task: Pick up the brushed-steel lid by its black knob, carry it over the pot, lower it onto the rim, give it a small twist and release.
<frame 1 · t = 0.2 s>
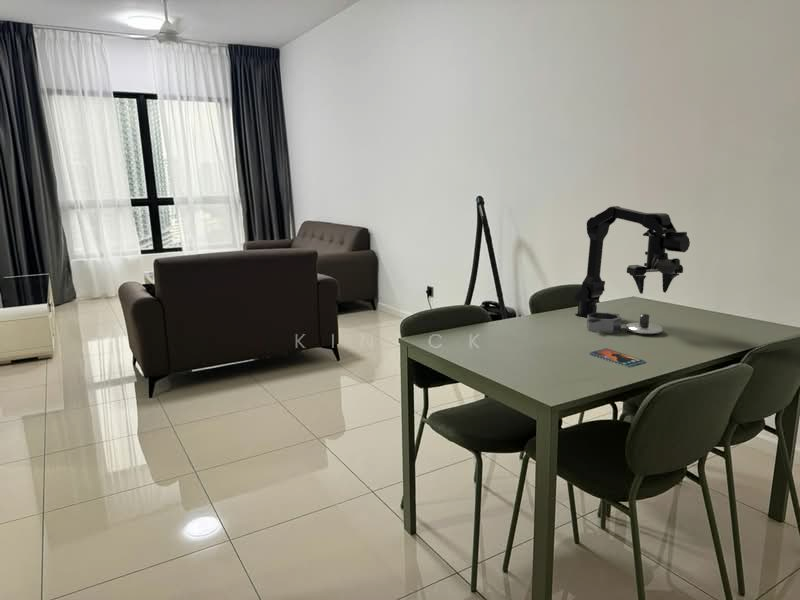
hand: (652, 293, 201), 14 cm above the table, fingers open, 9 cm apart
lid: (643, 332, 202), on the table
smartphone: (616, 360, 173), on the table
pot: (603, 329, 206), on the table
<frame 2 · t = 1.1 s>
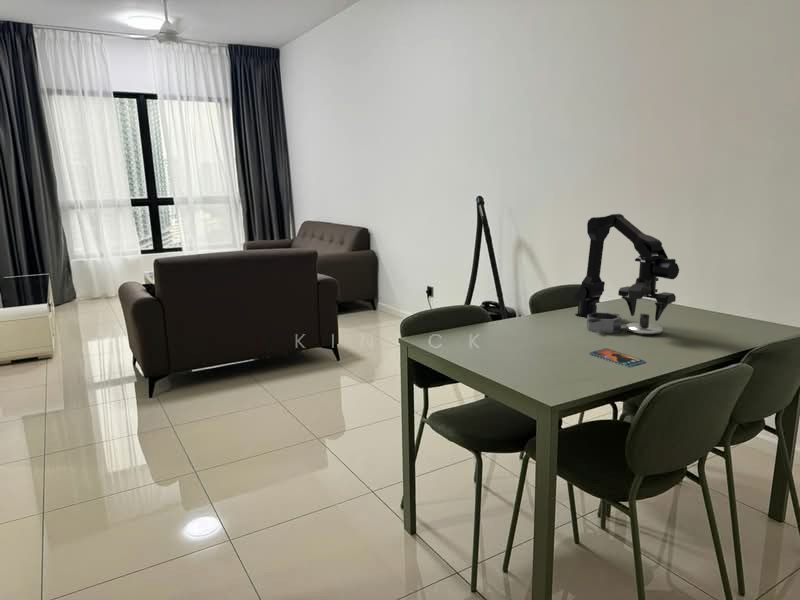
hand: (644, 318, 201), 5 cm above the table, fingers open, 9 cm apart
nothing on the table moved.
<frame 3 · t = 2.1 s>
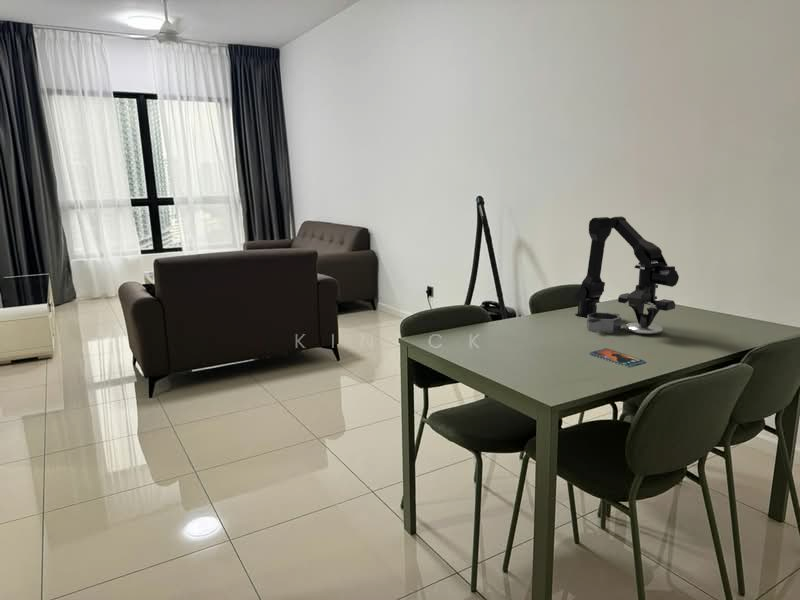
hand: (644, 325, 201), 3 cm above the table, fingers closed on lid, 3 cm apart
lid: (643, 331, 202), on the table, touching gripper
everything else where it was.
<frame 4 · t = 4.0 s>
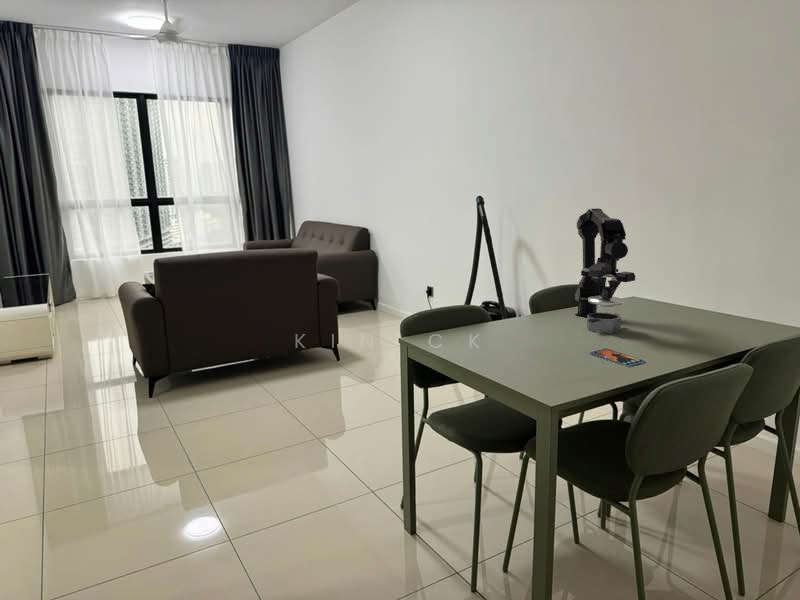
hand: (605, 297, 203), 12 cm above the table, fingers closed on lid, 3 cm apart
lid: (605, 304, 204), point 9 cm above the table, touching gripper
everything else where it was.
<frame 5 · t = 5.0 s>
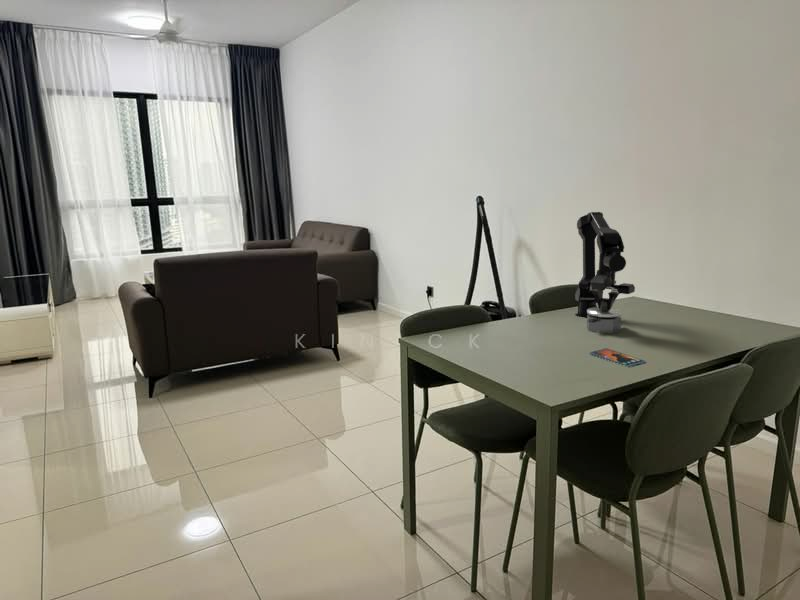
hand: (604, 309, 204), 7 cm above the table, fingers closed on lid, 3 cm apart
lid: (604, 316, 205), point 5 cm above the table, touching gripper
everything else where it was.
when the fingers open (7 cm above the table, at t = 5.8 s): lid stays where it is, resting on pot.
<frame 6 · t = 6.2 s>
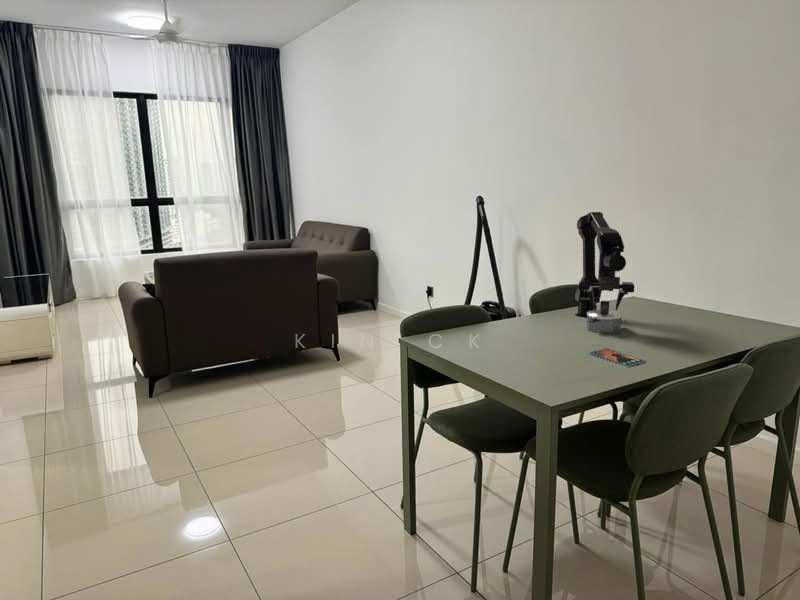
hand: (604, 309, 204), 7 cm above the table, fingers open, 8 cm apart
lid: (604, 318, 205), point 4 cm above the table, touching pot
everything else where it was.
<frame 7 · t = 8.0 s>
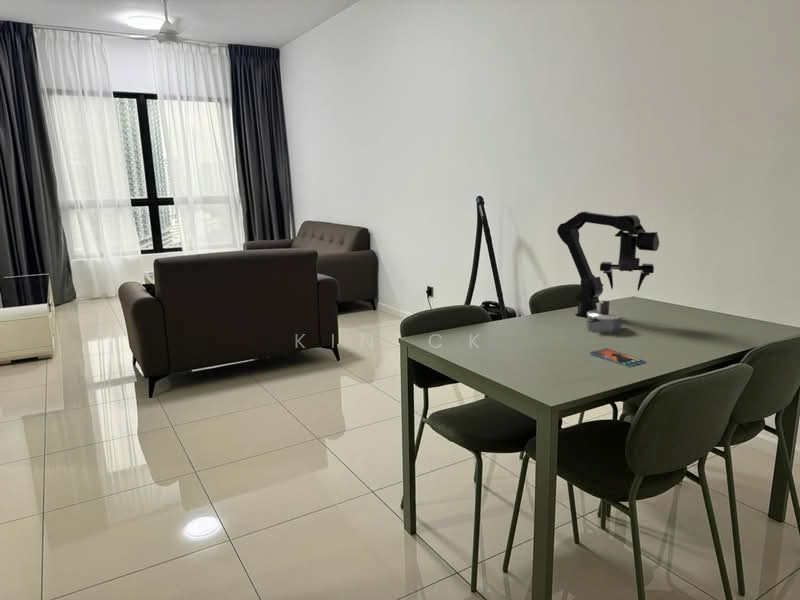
hand: (624, 289, 214), 12 cm above the table, fingers open, 9 cm apart
nothing on the table moved.
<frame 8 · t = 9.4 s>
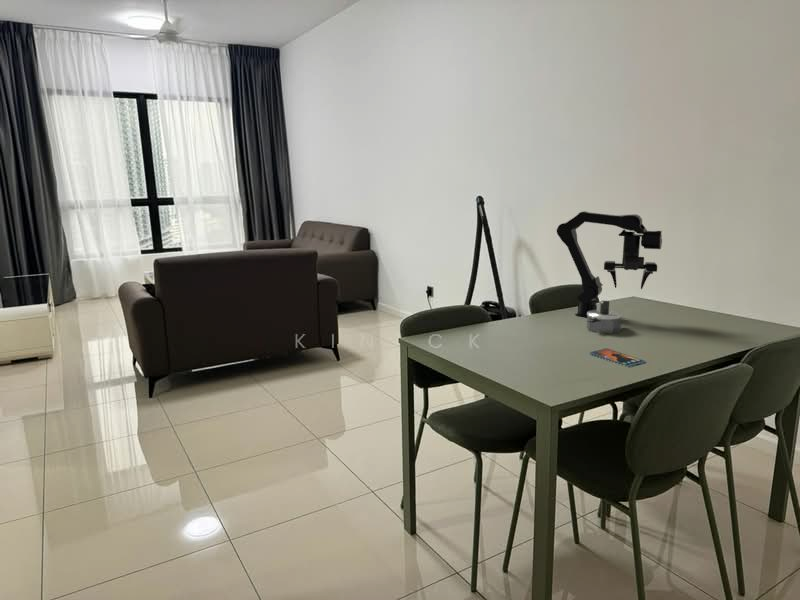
hand: (628, 288, 216), 12 cm above the table, fingers open, 9 cm apart
nothing on the table moved.
at the end: lid 0.0 cm off-centre on the pot, point 4.0 cm above the pot's base; lid tilted 0°; the gripper is holding nothing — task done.
